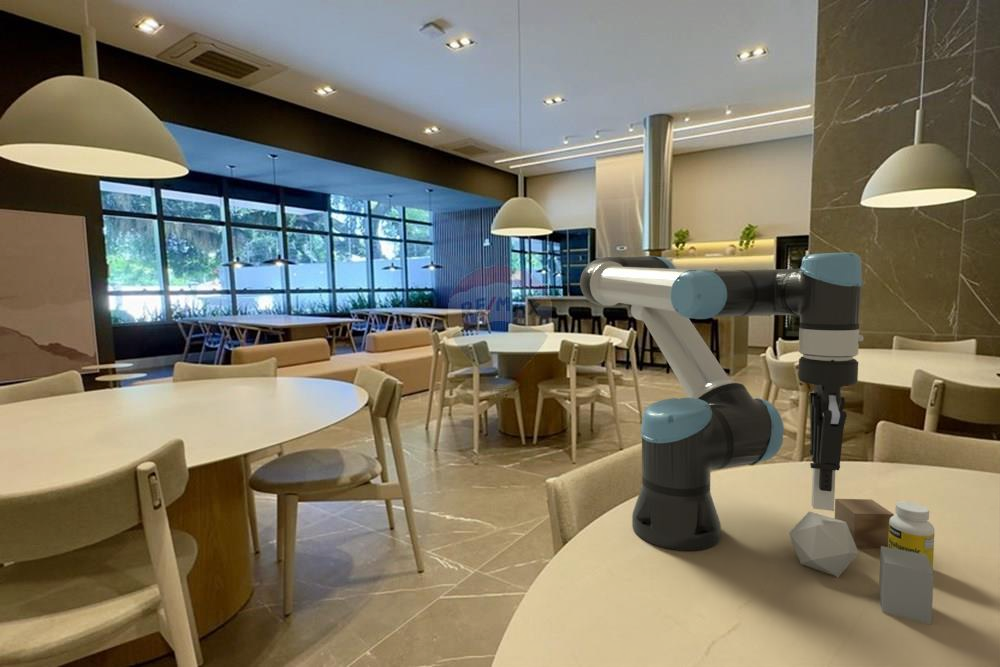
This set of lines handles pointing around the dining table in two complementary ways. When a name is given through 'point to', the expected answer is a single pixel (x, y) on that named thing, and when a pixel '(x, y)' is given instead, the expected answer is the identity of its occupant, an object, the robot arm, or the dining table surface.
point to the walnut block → (865, 521)
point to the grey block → (906, 584)
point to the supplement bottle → (912, 529)
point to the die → (823, 543)
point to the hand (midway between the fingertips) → (822, 507)
